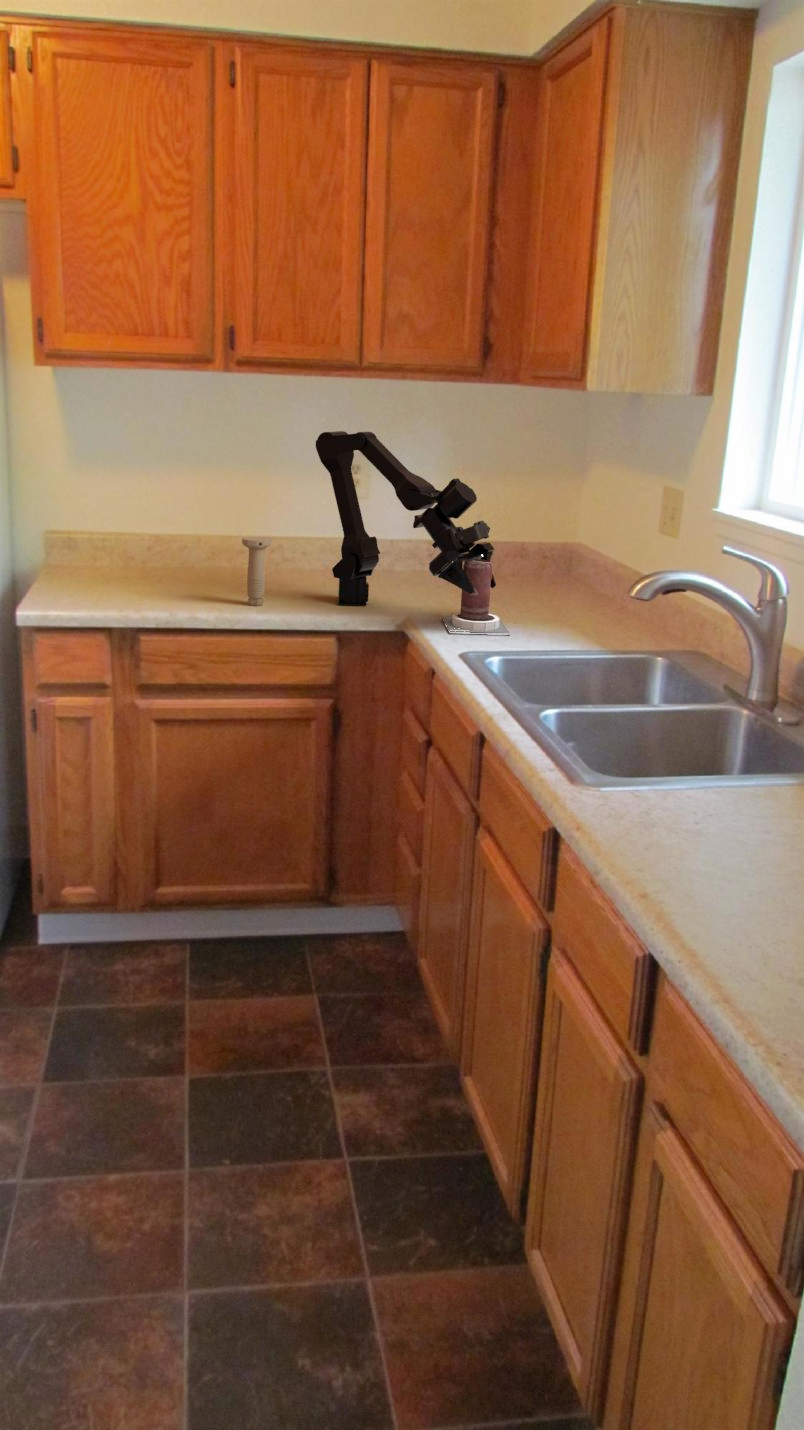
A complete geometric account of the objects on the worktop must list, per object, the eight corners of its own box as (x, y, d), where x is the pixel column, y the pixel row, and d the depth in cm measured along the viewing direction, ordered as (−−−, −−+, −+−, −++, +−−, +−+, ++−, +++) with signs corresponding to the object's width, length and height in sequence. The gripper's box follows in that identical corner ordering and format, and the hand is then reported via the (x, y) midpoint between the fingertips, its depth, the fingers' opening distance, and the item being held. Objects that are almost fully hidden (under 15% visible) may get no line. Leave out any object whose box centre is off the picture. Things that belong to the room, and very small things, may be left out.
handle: (272, 606, 273) (274, 540, 268) (245, 607, 270) (246, 541, 265) (265, 601, 277) (266, 536, 272) (238, 603, 274) (239, 537, 269)
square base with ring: (449, 634, 256) (449, 623, 255) (442, 619, 268) (442, 609, 268) (509, 635, 257) (510, 624, 257) (499, 621, 270) (500, 611, 269)
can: (487, 629, 260) (492, 564, 255) (458, 626, 260) (462, 562, 256) (489, 622, 265) (494, 559, 261) (461, 620, 266) (465, 557, 262)
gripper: (444, 512, 250) (486, 573, 247) (489, 505, 265) (529, 562, 262) (410, 545, 256) (451, 604, 254) (456, 536, 271) (495, 592, 269)
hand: (483, 589), depth 259 cm, fingers open, 9 cm apart
